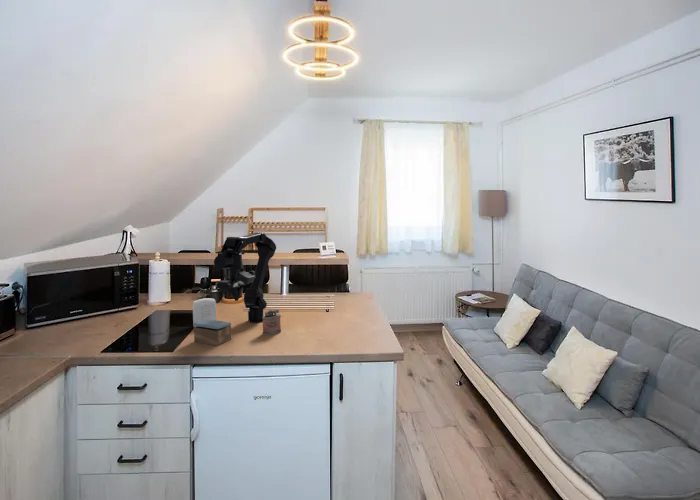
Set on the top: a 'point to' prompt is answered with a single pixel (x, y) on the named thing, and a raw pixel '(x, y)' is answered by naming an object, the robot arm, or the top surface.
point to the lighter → (271, 322)
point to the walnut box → (212, 335)
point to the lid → (212, 324)
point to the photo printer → (204, 309)
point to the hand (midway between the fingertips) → (236, 300)
